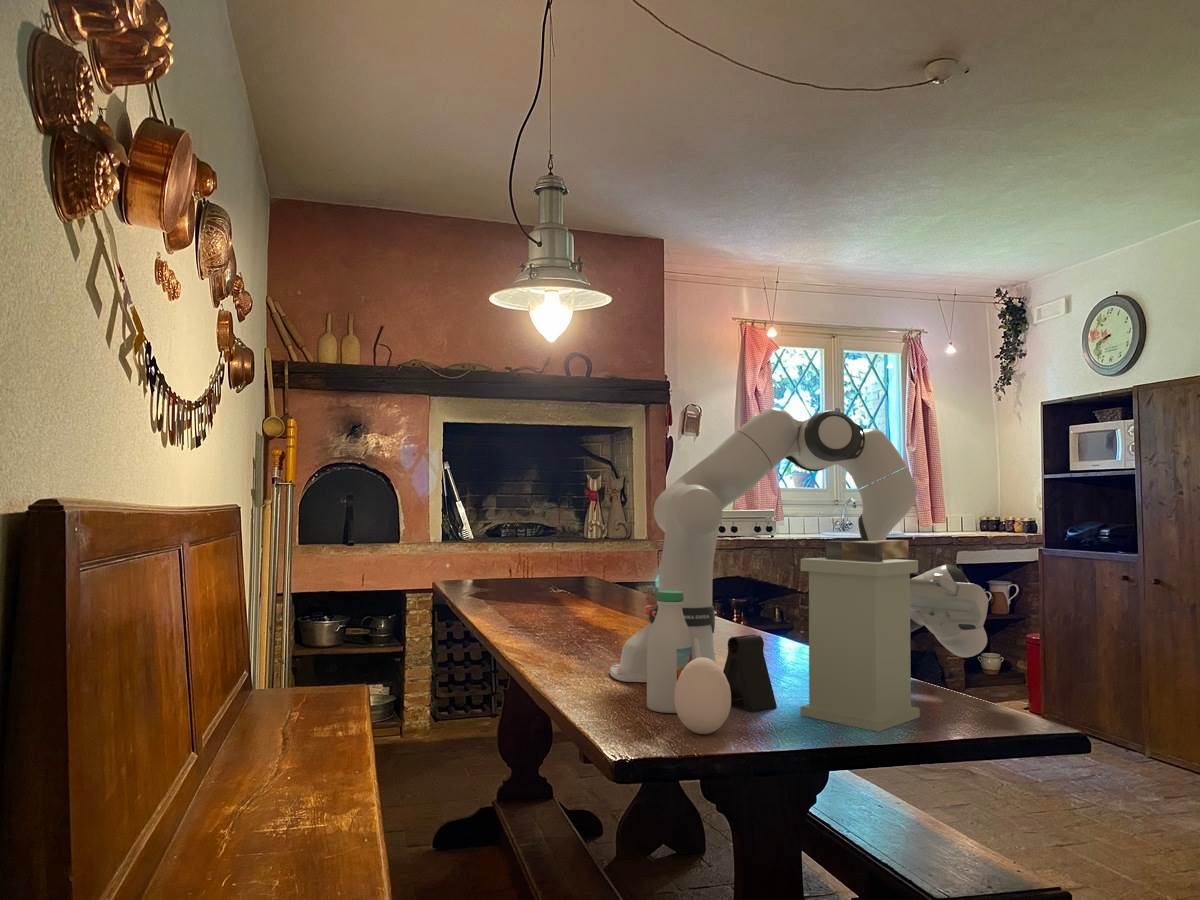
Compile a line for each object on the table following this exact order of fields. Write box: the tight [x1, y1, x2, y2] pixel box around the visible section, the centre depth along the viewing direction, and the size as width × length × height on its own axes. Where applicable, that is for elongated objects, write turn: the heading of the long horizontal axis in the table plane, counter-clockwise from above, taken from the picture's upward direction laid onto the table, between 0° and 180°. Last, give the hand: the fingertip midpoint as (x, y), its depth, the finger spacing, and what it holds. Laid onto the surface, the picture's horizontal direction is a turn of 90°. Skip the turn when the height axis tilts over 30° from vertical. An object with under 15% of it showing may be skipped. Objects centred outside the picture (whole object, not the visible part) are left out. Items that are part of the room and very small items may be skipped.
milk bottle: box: [646, 590, 692, 714], centre depth 148 cm, size 8×8×20 cm
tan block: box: [825, 539, 909, 562], centre depth 150 cm, size 18×9×3 cm, turn 135°
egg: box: [674, 657, 732, 735], centre depth 132 cm, size 9×9×11 cm
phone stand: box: [722, 634, 778, 713], centre depth 151 cm, size 9×6×12 cm, turn 36°
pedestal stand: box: [800, 556, 921, 733], centre depth 145 cm, size 14×14×26 cm
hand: (912, 575), depth 159 cm, fingers open, 8 cm apart
